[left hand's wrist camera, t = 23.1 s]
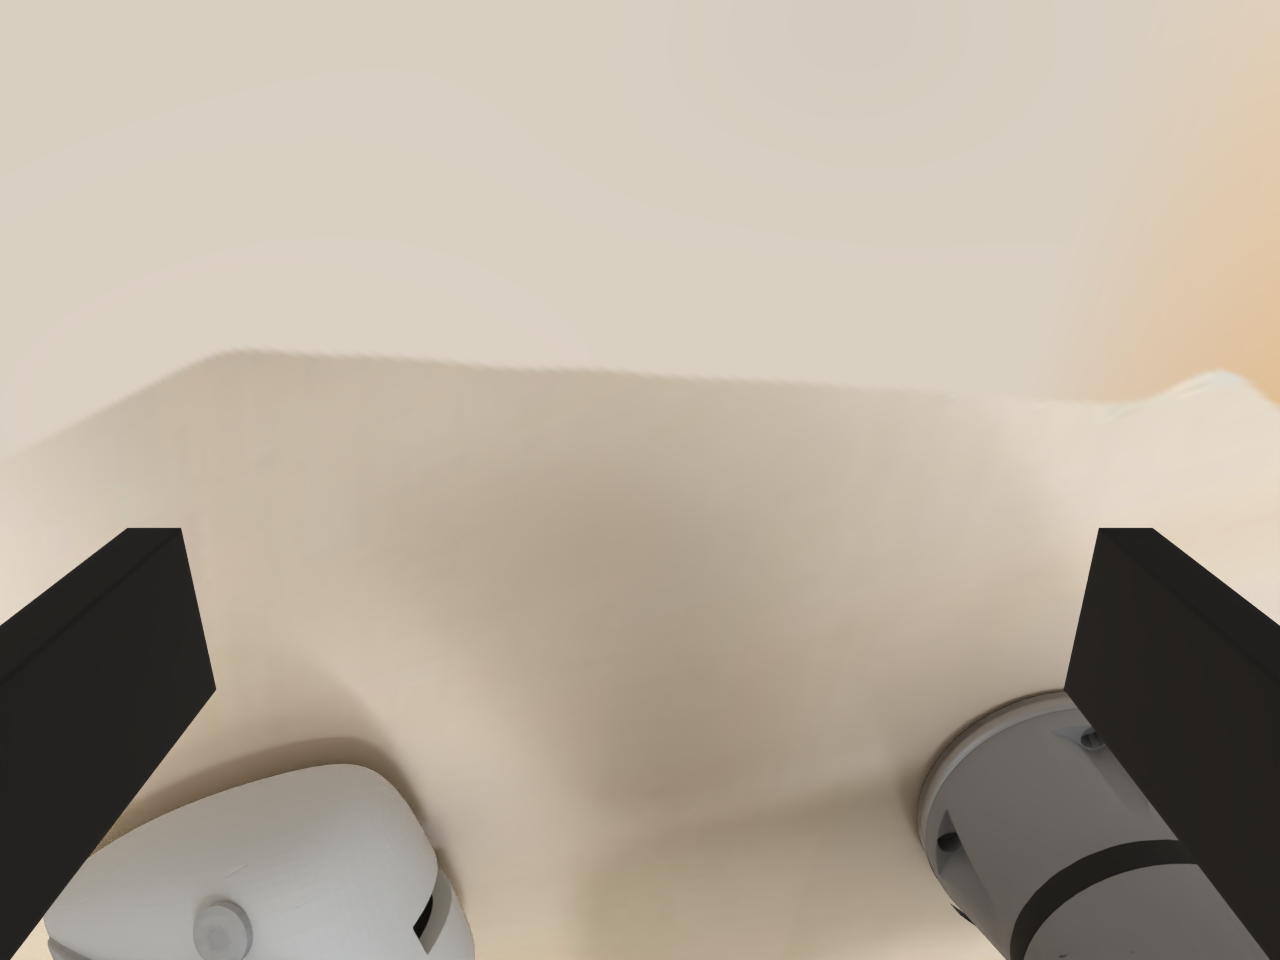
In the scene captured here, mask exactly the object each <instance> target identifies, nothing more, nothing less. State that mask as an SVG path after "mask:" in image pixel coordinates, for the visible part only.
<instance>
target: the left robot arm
mask: <svg viewBox="0 0 1280 960" xmlns="http://www.w3.org/2000/svg"><path fill="white" fill-rule="evenodd" d="M215 691H216V686H215V682H214V677H213V672H212V668H211V663H210V659H209V654H208V649H207V645H206V640H205V636H204V631H203V627H202V622H201V617H200V613H199V608H198V604H197V599H196V594H195V590H194V585H193V581H192V576H191V572H190V567H189V562H188V558H187V553H186V549H185V544H184V539H183V535H182V530H181V528H127V529H125V530H124V531H123V532H122V533H120V534H119V535H118V536H116V537H115V538H114V539H112V540H111V541H110V542H109V543H107V544H106V545H105V546H103V547H102V548H101V549H99V550H98V551H97V552H96V553H94V554H93V555H92V556H90V557H89V558H88V559H86V560H85V561H84V562H83V563H81V564H80V565H79V566H77V567H76V568H75V569H73V570H72V571H71V572H70V573H68V574H67V575H66V576H64V577H63V578H62V579H60V580H59V581H58V582H57V583H55V584H54V585H53V586H51V587H50V588H49V589H47V590H46V591H45V592H44V593H42V594H41V595H40V596H38V597H37V598H36V599H34V600H33V601H32V602H31V603H29V604H28V605H27V606H25V607H24V608H23V609H21V610H20V611H19V612H17V613H16V614H15V615H14V616H12V617H11V618H10V619H8V620H7V621H6V622H4V623H3V624H2V625H1V626H0V960H10V959H11V958H12V957H13V955H14V954H15V953H16V951H17V950H18V949H19V947H20V946H21V945H22V944H23V942H24V941H25V940H26V938H27V937H28V936H29V934H30V933H31V932H32V930H33V929H34V928H35V926H36V925H37V924H38V923H39V921H40V920H41V919H42V917H43V916H44V915H45V913H46V912H47V911H48V909H49V908H50V907H51V906H52V904H53V903H54V902H55V900H56V899H57V898H58V896H59V895H60V894H61V892H62V891H63V890H64V888H65V887H66V886H67V885H68V883H69V882H70V881H71V879H72V878H73V877H74V875H75V874H76V873H77V871H78V870H79V869H80V868H81V866H82V865H83V864H84V862H85V861H86V860H87V858H88V857H89V856H90V854H91V853H92V852H93V850H94V849H95V848H96V847H97V845H98V844H99V843H100V841H101V840H102V839H103V837H104V836H105V835H106V833H107V832H108V831H109V829H110V828H111V827H112V826H113V824H114V823H115V822H116V820H117V819H118V818H119V816H120V815H121V814H122V812H123V811H124V810H125V809H126V807H127V806H128V805H129V803H130V802H131V801H132V799H133V798H134V797H135V795H136V794H137V793H138V791H139V790H140V789H141V788H142V786H143V785H144V784H145V782H146V781H147V780H148V778H149V777H150V776H151V774H152V773H153V772H154V770H155V769H156V768H157V767H158V765H159V764H160V763H161V761H162V760H163V759H164V757H165V756H166V755H167V753H168V752H169V751H170V750H171V748H172V747H173V746H174V744H175V743H176V742H177V740H178V739H179V738H180V736H181V735H182V734H183V732H184V731H185V730H186V729H187V727H188V726H189V725H190V723H191V722H192V721H193V719H194V718H195V717H196V715H197V714H198V713H199V712H200V710H201V709H202V708H203V706H204V705H205V704H206V702H207V701H208V700H209V698H210V697H211V696H212V694H213V693H214V692H215ZM917 823H918V832H919V836H920V840H921V843H922V846H923V848H924V851H925V853H926V856H927V858H928V861H929V864H930V866H931V868H932V870H933V872H934V874H935V876H936V878H937V879H938V880H939V882H940V884H941V885H942V887H943V888H944V890H945V891H946V893H947V894H948V895H949V897H950V898H951V899H952V900H953V901H954V902H955V903H956V905H957V906H958V907H959V908H960V909H961V910H962V911H963V912H964V913H965V914H964V913H963V912H962V911H960V910H959V909H957V908H956V907H955V906H953V905H952V904H951V905H952V906H953V907H954V908H955V910H956V911H957V912H958V913H959V914H960V915H961V916H962V917H964V918H965V919H967V920H968V921H969V922H971V923H972V924H974V925H975V926H976V927H977V928H978V929H979V930H980V931H981V932H982V933H983V934H984V936H985V937H986V938H987V939H988V940H989V941H990V942H991V943H992V944H993V946H994V947H995V948H996V949H997V950H998V951H999V952H1000V953H1001V954H1002V956H1003V957H1004V958H1005V959H1006V960H1280V626H1279V625H1278V624H1277V623H1276V622H1274V621H1273V620H1272V619H1270V618H1269V617H1268V616H1266V615H1265V614H1264V613H1262V612H1261V611H1260V610H1259V609H1257V608H1256V607H1255V606H1253V605H1252V604H1251V603H1249V602H1248V601H1247V600H1246V599H1244V598H1243V597H1242V596H1240V595H1239V594H1238V593H1236V592H1235V591H1234V590H1233V589H1231V588H1230V587H1229V586H1227V585H1226V584H1225V583H1223V582H1222V581H1221V580H1220V579H1218V578H1217V577H1216V576H1214V575H1213V574H1212V573H1210V572H1209V571H1208V570H1207V569H1205V568H1204V567H1203V566H1201V565H1200V564H1199V563H1197V562H1196V561H1195V560H1194V559H1192V558H1191V557H1190V556H1188V555H1187V554H1186V553H1184V552H1183V551H1182V550H1181V549H1179V548H1178V547H1177V546H1175V545H1174V544H1173V543H1171V542H1170V541H1169V540H1168V539H1166V538H1165V537H1164V536H1162V535H1161V534H1160V533H1158V532H1157V531H1156V530H1155V529H1153V528H1099V530H1098V535H1097V539H1096V544H1095V549H1094V553H1093V558H1092V562H1091V567H1090V571H1089V576H1088V581H1087V585H1086V590H1085V594H1084V599H1083V604H1082V608H1081V613H1080V617H1079V622H1078V627H1077V631H1076V636H1075V640H1074V645H1073V649H1072V654H1071V659H1070V663H1069V668H1068V672H1067V677H1066V682H1065V686H1064V692H1055V693H1049V694H1044V695H1039V696H1035V697H1031V698H1028V699H1025V700H1021V701H1018V702H1016V703H1013V704H1011V705H1008V706H1006V707H1003V708H1001V709H999V710H997V711H995V712H993V713H991V714H989V715H988V716H986V717H984V718H983V719H981V720H979V721H978V722H976V723H975V724H974V725H972V726H971V727H969V728H968V729H967V730H965V731H964V732H963V733H962V734H961V735H960V736H958V737H957V738H956V739H955V740H954V741H953V742H952V743H951V744H950V745H949V746H948V747H947V748H946V750H945V751H944V752H943V753H942V754H941V756H940V757H939V758H938V760H937V761H936V763H935V764H934V765H933V767H932V769H931V771H930V772H929V774H928V776H927V778H926V780H925V783H924V785H923V788H922V791H921V795H920V798H919V804H918V812H917Z"/></svg>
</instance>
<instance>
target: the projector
mask: <svg viewBox="0 0 1280 960" xmlns="http://www.w3.org/2000/svg"><path fill="white" fill-rule="evenodd" d="M43 918H44V923H45V927H46V930H47V932H48V935H49V937H50V938H49V940H48V947H49V950H50V952H51V955H52V957H53V959H54V960H475V947H474V941H473V936H472V932H471V929H470V926H469V923H468V920H467V918H466V915H465V913H464V911H463V908H462V906H461V904H460V902H459V900H458V897H457V895H456V893H455V891H454V889H453V887H452V885H451V883H450V881H449V879H448V878H447V876H446V875H445V874H444V872H443V871H442V870H441V869H439V868H438V865H437V858H436V854H435V852H434V850H433V848H432V846H431V844H430V842H429V840H428V838H427V836H426V834H425V833H424V831H423V829H422V827H421V825H420V824H419V822H418V820H417V818H416V817H415V815H414V813H413V812H412V810H411V808H410V807H409V805H408V804H407V802H406V801H405V800H404V798H403V797H402V796H401V795H400V793H399V792H398V791H397V790H396V789H395V787H394V786H393V785H392V784H391V783H390V782H389V781H388V780H386V779H385V778H384V777H382V776H381V775H380V774H378V773H377V772H375V771H373V770H371V769H369V768H366V767H363V766H359V765H353V764H329V765H322V766H316V767H309V768H305V769H300V770H295V771H291V772H287V773H283V774H279V775H275V776H272V777H268V778H264V779H260V780H257V781H254V782H250V783H247V784H244V785H240V786H237V787H234V788H231V789H228V790H225V791H222V792H219V793H216V794H214V795H211V796H208V797H205V798H202V799H200V800H197V801H195V802H192V803H190V804H187V805H185V806H182V807H180V808H177V809H175V810H173V811H171V812H169V813H166V814H164V815H162V816H160V817H157V818H155V819H153V820H151V821H149V822H147V823H145V824H143V825H141V826H139V827H137V828H136V829H134V830H132V831H130V832H129V833H127V834H125V835H123V836H122V837H120V838H118V839H116V840H115V841H113V842H111V843H110V844H108V845H107V846H105V847H103V848H102V849H100V850H99V851H97V852H96V853H94V854H93V855H92V856H90V857H89V858H88V859H87V860H86V861H85V862H84V864H83V865H82V866H81V868H80V869H79V870H78V871H77V873H76V874H75V875H74V877H73V878H72V879H71V881H70V882H69V883H68V885H67V886H66V887H65V888H64V890H63V891H62V892H61V894H60V895H59V896H58V898H57V899H56V900H55V902H54V903H53V904H52V906H51V907H50V908H49V909H48V911H47V912H46V913H45V915H44V917H43Z"/></svg>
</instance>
